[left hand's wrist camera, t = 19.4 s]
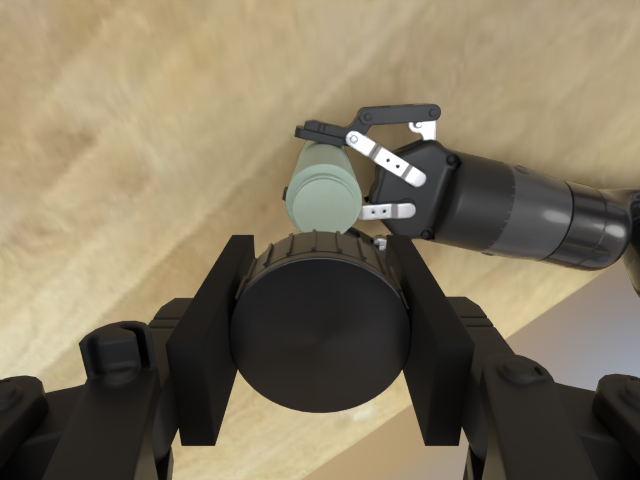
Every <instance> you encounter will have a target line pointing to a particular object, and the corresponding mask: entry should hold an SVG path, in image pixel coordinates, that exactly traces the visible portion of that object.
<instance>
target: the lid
mask: <svg viewBox="0 0 640 480" xmlns="http://www.w3.org/2000/svg"><path fill="white" fill-rule="evenodd" d="M234 301H235V302H236V304H235V307H234V309H233V312H232V314H231V319H230V323H229V342H230V350H231V355H232V357H233V360H234V362H235V365H236V367H237V368H238V370H239V372H240V374H241V375H242V376H243V378H244V379H245V380H246V381H247V382H248V384H249V385H250V386H251V387H252V388H253V389H255V390H256V391H257V392H258V393H260V394H261V395H262V396H264V397H266V398H267V399H269V400H270V401H272V402H274V403H277V404H279V405H281V406H284V407H287V408H290V409H293V410H298V411H302V412H311V413H329V412H338V411H343V410H347V409H350V408H354V407H357V406H359V405H361V404H364V403H366V402H368V401H370V400H371V399H373V398H375V397H376V396H378V395H379V394H381V393H382V392H383V391H385V390H386V389H387V388H388V387H389V386H390V385H391V384H392V383H393V382H394V380H395V379H396V378H397V377H398V375H399V374H400V372H401V371H402V369H403V367H404V365H405V363H406V361H407V358H408V355H409V352H410V345H411V334H412V327H411V322H410V317H409V314H408V312H409V307H408V304H407V302H406V300H405V297H404V295H403V292H402V289H401V287H400V284H399V282H398V279H397V277H396V275H395V272H394V270H393V268H392V266H391V267H389V266H388V265H387V264H386V262H385V261H384V260H383V258H382V256H381V254H380V252H379V251H378V250H377V251H375V250H373V249H372V248H371V247H369V246H368V245H366V244H365V243H363V242H362V239H360V238H358V240H357V239H355V238H353V237H350V236H347V235H344V234H340V231H336V233H335V232H328V231H316V229H313V230H312V232H305V233H301V234H296V235H293V233H292V234H290V235H289V237H288V238H285V239H283V240H281V241H279V242H277V243H275V244H274V245H273V244H272V243H271V244H270V245H269V247H268V249H267V250H266V251H265V252H264V253H263V254H262V255H260V256H259V258H258V259H257V258H254V260H253V262H252V264H251V267H250V269H249V272H248V274H247V276H245V275H244V276H243V279H242V281H241V284H240V286H239V288H238V291H237V293H236V296H235V298H234Z"/></svg>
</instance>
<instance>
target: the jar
mask: <svg viewBox="0 0 640 480" xmlns="http://www.w3.org/2000/svg"><path fill="white" fill-rule="evenodd" d="M361 206H362V195H361V191H360V187H359V185H358V182H357V179H356V177H355V174H354V171H353V169H352V166H351V163H350V161H349V158H348V155H347V153H346V150H345V148H344V146H343V145H342V148H340V147H336V146H332V145H328V144H323V143H319V142H315V141H310V140H308V141H307V142H306V143H305V144H304V146H303V148H302V151H301V153H300V156H299V159H298V162H297V164H296V167H295V170H294V173H293V175H292V178H291V181H290V184H289V186H288V189H287V193H286V208H287V212H288V215H289V217H290V219H291V220H292V222H293V223H294V225H295V227H296V228H297V229H298V230H299V231H300V232H303V233H305V232H312V230H313V229H316V231H328V232H335V233H336V231H340V234H343V233H344V232H346V231H347V230H348V229H349V228H350V227H351V226H352V225H353V224H354V222H355V221H356V220H357V218H358V216H359V214H360V211H361Z"/></svg>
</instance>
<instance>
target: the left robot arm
mask: <svg viewBox="0 0 640 480" xmlns="http://www.w3.org/2000/svg"><path fill="white" fill-rule="evenodd" d="M254 258H255V251H254V235H232V236H231V238H230V240H229V241H228V243H227V245H226V246H225V248H224V249H223V251H222V253H221V254H220V256H219V258H218V259H217V261H216V262H215V264H214V266H213V267H212V269H211V271H210V272H209V274H208V275H207V277H206V279H205V280H204V282H203V284H202V285H201V287H200V288H199V290H198V292H197V293H196V295H195V297H194V298H174V299H173V300H171V301H170V302H168V303H167V304H165V305H164V306H162V307H161V308H160V310H159V311H158V312H157V314H156V315H155V316H154V319H153V320H151V322H150V323H149V325H147V324H145V323H142V322H138V321H121V322H116V323H112V324H108V325H105V326H103V327H100V328H98V329H96V330H94V331H92V332H91V333H89V334H88V335H86V336H85V337H84V338H83V339H82V340H81V341H80V343H79V347H80V351H81V354H82V358H83V362H84V366H85V370H86V374H87V380H86V383H85V384H84V385H80V386H76V387H72V388H67V389H62V390H58V391H53V392H48V393H45V391H44V388H43V384H42V382H41V381H40V380H39V379H38V378H36V377H32V376H16V377H10V378H5V379H3V380H0V480H172V472H173V464H174V460H173V453H172V447H171V444H172V442H173V440H174V437H175V435H176V433H177V430H178V428H179V433H180V439H181V445H182V446H215V444H216V441H217V437H218V434H219V431H220V427H221V424H222V421H223V417H224V414H225V411H226V407H227V404H228V400H229V397H230V394H231V390H232V387H233V384H234V380H235V377H236V374H237V370H238V368H237V367H236V365H235V362H234V360H233V357H232V355H231V350H230V342H229V323H230V319H231V314H232V312H233V309H234V307H235V304H236V302H235V301H234V298H235V296H236V293H237V291H238V288H239V286H240V284H241V281H242V279H243V276H244V275H245V276H247V274H248V272H249V269H250V267H251V264H252V262H253V260H254ZM385 262H386V264H387V265H388V266H389V267H391V266H392V268H393V270H394V272H395V275H396V277H397V279H398V282H399V284H400V287H401V289H402V292H403V295H404V297H405V300H406V302H407V304H408V307H409V312H408V314H409V317H410V322H411V327H412V334H411V345H410V352H409V355H408V358H407V361H406V363H405V365H404V367H403V373H404V376H405V379H406V383H407V386H408V390H409V393H410V396H411V400H412V403H413V406H414V410H415V413H416V416H417V420H418V423H419V426H420V430H421V433H422V437H423V440H424V443H425V446H459V440H460V434H461V428H463V430H464V432H465V435H466V437H467V439H468V442H469V447H468V453H467V459H466V464H465V470H464V476H463V480H640V378H637V377H635V376H630V375H622V374H611V375H605V376H604V377H602V378H601V379H600V380H599V382H598V386H597V389H596V391H591V390H586V389H581V388H576V387H572V386H567V385H563V384H559V383H556V382H554V380H553V378H552V376H551V375H550V374H549V372H548V371H547V370H546V369H545V368H544V367H542V366H541V365H540V364H538V363H537V362H535V361H533V360H531V359H529V358H526V357H524V356H520V355H516V354H515V353H514V352H513V351H512V349H511V348H510V347H509V345H508V344H507V343H506V341H505V340H504V339H503V337H502V336H501V335H500V333H499V332H498V330H497V329H496V328H495V327H493V324H492V322H491V321H490V320H489V318H487V316H486V314H485V313H484V312H483V310H482V309H481V308H480V306H479V305H477V304H476V303H474V302H473V301H471V300H469V299H468V298H466V297H446V296H445V295H444V293H443V291H442V290H441V288H440V286H439V285H438V283H437V282H436V280H435V278H434V277H433V275H432V273H431V272H430V270H429V269H428V267H427V265H426V264H425V262H424V260H423V259H422V257H421V256H420V254H419V252H418V251H417V249H416V247H415V246H414V244H413V243H412V241H411V239H410V238H409V236H408V235H387V239H386V254H385Z"/></svg>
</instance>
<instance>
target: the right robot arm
mask: <svg viewBox="0 0 640 480" xmlns="http://www.w3.org/2000/svg"><path fill="white" fill-rule="evenodd" d="M440 115H441V109H440V107H439V106H438V105H435V104H428V103H421V104H405V105H390V106H374V107H363V108H361V109H359V111H358V113H357V116H356V117H355V119H354V120H353V122H352V123H351V124H350V125H349V126H346V127H341V126H337V125H333V124H328V123H324V122H320V121H316V120H309V121H306V122H305V126H304V127H303V126H297V127H296V131H295V137H298V138H302V139H306V140H310V141H315V142H319V143H323V144H328V145H332V146H336V147H340V148H342V145H345V146H349V147H352V148H353V149H355V150H357V151H358V152H360V153H362V154H363V155H365V156H367V157H368V158H370V159H371V160H372V161H374V162H376V163H377V166H376V169H375V181H374V183H373V184H372V186H371V188H370V191H369V194H367V195H362V206H361V211H360V214H359V216H358V218H357V219H358V220H374V219H380V220H381V221H382V223H383V224H384V225H385V226H386V227H387V228H388V229H389V231H390V232H391V234H390V235H408V236H409V238H410V239H411V240H412V239H424V240H428V241H432V242H437V243H441V244H446V245H451V246H455V247H460V248H464V249H469V250H473V251H478V252H481V253H482V254H486V255H490V256H492V255H494V256H495V255H496V256H501V257H506V258H515V259H528V260H534V261H538V262H542V263H547V264H551V265H556V266H560V267H565V268H570V269H576V270H582V271H596V270H601V269H604V268H606V267H609V266H610V265H612V264H613V263H615V262H616V261H617V260H618V259H619V258H620V257H621V256H622V259H623V261H624V264H625V266H626V269H627V271H628V274H629V277H630V280H631V282H632V285H633V287H634V289H635V291H636V293H637V294H638V296H639V297H640V188H617V189H598V188H594V187H591V186H586V185H582V184H578V183H574V182H569V181H565V180H561V179H557V178H554V177H551V176H548V175H546V174H544V173H541V172H538V171H535V170H532V169H528V168H524V167H522V166H518V165H517V166H516V165H511V164H507V163H503V162H499V161H495V160H490V159H486V158H482V157H478V156H473V155H469V154H465V153H461V152H457V151H452V150H449V149H446V148H444V147H443V146H442V145H441V144H440V143H439V142H438V141H436V140H435V137H436V120H437V119H438V118H439V117H440ZM398 123H407V127H408V129H409V130H411V131H413V132H418V133H419V134H420V136H421V139H420V140H418V141H415V142H413V143H411V144H408V145H406V146H403V147H401V148H399V149H396V150H394V151H391V150H389V149H387V148H386V147H384V146H383V145H381V144H379V143H378V142H376V141H374V140H372V139H371V138H369V137H368V136H366V135H365V134H366V133H367V131H368V130H369V128H370V127H371V125H382V124H398ZM287 189H288V187H285V189H284V193H283V198H282V199H283V200H285V201H286V193H287ZM368 201H369V202H368ZM372 211H373V212H372ZM343 234H344V235H347V236H350V237H353V238H355V239H357V240H358V238H360V239H362V242H363V243H365V244H366V245H368V246H369V247H371V248H372V249H373V250H375V251H377V250H378V251H379V252H380V254H381V256H382V258H383V260H384V261H385V254H386V239H387V236H383V235H376V236H374V238H372V237H370V236H368V235H366V234H365V233H363V232H361V231H359V230H357V229H355V228H353V227H352V226H351V227H350V228H349V229H348V230H347V231H346V232H344V233H343Z"/></svg>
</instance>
